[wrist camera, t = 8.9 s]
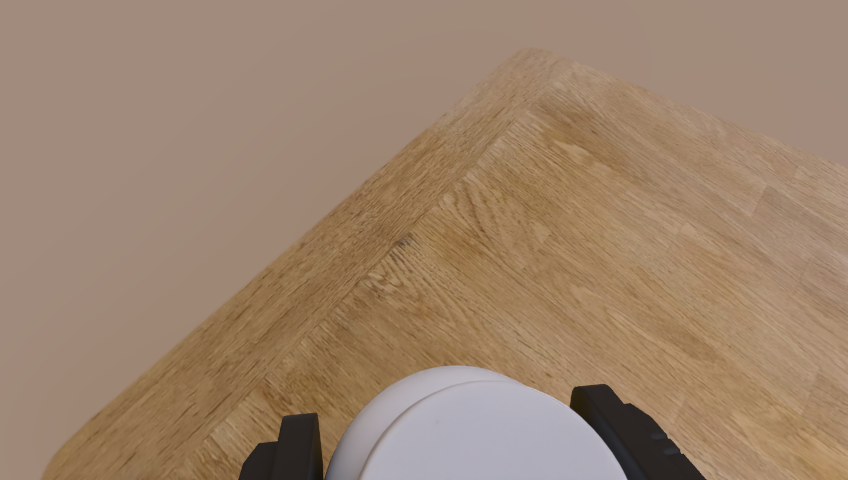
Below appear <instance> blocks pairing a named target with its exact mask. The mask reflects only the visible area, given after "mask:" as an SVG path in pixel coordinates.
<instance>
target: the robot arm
mask: <svg viewBox="0 0 848 480" xmlns="http://www.w3.org/2000/svg"><path fill="white" fill-rule="evenodd" d="M570 408H571V409H572V410H573V411H574V412H576V413H577V414H578V415H579V416H580V417H581V418H582V419H583V420H584V421H585V422H587V423H588V424H589V425H590V426H591V427H592V428H593V429H594V431H595V432H596V433H597V434H598V435H599V436H600V437H601V439H602V440H603V441H604V443H605V444H606V445H607V446H608V448H609V449H610V450H611V452H612V453H613V455H614V456H615V458H616V460H617V461H618V463H619V464H620V466H621V468H622V470H623V472H624V474H625V476H626V478H627V480H706V479H705V478H704V476H703V475H702V474H701V473H700V472H699V471H698V470H697V468H696V467H695V466H694V465H693V464H692V463H691V462H690V461H689V459H688V458H687V457H686V456H685V455H684V454H681V452H680V449H679V448H678V447H677V446H676V445H675V443H674V442H673V441H672V440H671V439H668V437H667V434H666V433H665V432H664V431H663V430H662V429H661V428H660V426H659V425H658V424H657V423H656V422H655V421H654V420H653V418H652V417H650V416H649V415H647V414H646V413H644V412H643V411H641V410H640V409H638V408H637V407H635V406H634V405H632V404H631V403H628V404H623V402H622V401H621V400H620V399H619V398H618V396H617V395H616V394H615V393H614V392H613V390H612V389H611V388H610V387H609V386H608V385H606V384H598V385H588V386H578V387H575V388H574V389H573V391H572V395H571V402H570ZM238 480H323V460H322V450H321V441H320V431H319V422H318V415H317V413H308V414H298V415H288V416H284V417H283V419H282V423H281V428H280V433H279V437H278V441H276V442H267V443H259V444H258V445H257V446H256V447H255V449H254V450H253V451H252V453H251V454H250V455H249V457H248V458H247V459H246V461H245V462H244V463H243V466H242V469H241V473H240V476H239V479H238Z"/></svg>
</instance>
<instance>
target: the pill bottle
mask: <svg viewBox="0 0 848 480" xmlns="http://www.w3.org/2000/svg"><path fill="white" fill-rule="evenodd" d="M324 480H627V478H626V476H625V474H624V472H623V470H622V468H621V466H620V464H619V463H618V461H617V460H616V458H615V456H614V455H613V453H612V452H611V450H610V449H609V448H608V446H607V445H606V444H605V443H604V441H603V440H602V439H601V437H600V436H599V435H598V434H597V433H596V432H595V431H594V429H593V428H592V427H591V426H590V425H589V424H588V423H587V422H585V421H584V420H583V419H582V418H581V417H580V416H579V415H578V414H577V413H576V412H574V411H573V410H572V409H571V408H569V407H568V406H566V405H565V404H563V403H562V402H560V401H559V400H557V399H555V398H553V397H552V396H550V395H548V394H545V393H543V392H541V391H539V390H536V389H534V388H531V387H528V386H525V385H523V384H522V383H520V382H518V381H516V380H514V379H512V378H509V377H507V376H505V375H502V374H500V373H497V372H494V371H491V370H488V369H483V368H478V367H472V366H441V367H436V368H430V369H426V370H423V371H420V372H417V373H414V374H412V375H409V376H407V377H405V378H403V379H401V380H399V381H397V382H395V383H394V384H392V385H390V386H389V387H387V388H386V389H384V390H383V391H381V392H380V393H379V394H378V395H377V396H376V397H374V398H373V399H372V400H371V401H370V402H369V403H368V404H367V405H366V406H365V407H364V408H363V409H362V410H361V411H360V413H359V414H358V415H357V416H356V417H355V418H354V420H353V421H352V422H351V424H350V425H349V427H348V428H347V430H346V431H345V433H344V434H343V436H342V438H341V440H340V442H339V443H338V446H337V448H336V450H335V451H334V453H333V456H332V458H331V461H330V463H329V466H328V469H327V472H326V475H325V479H324Z"/></svg>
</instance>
